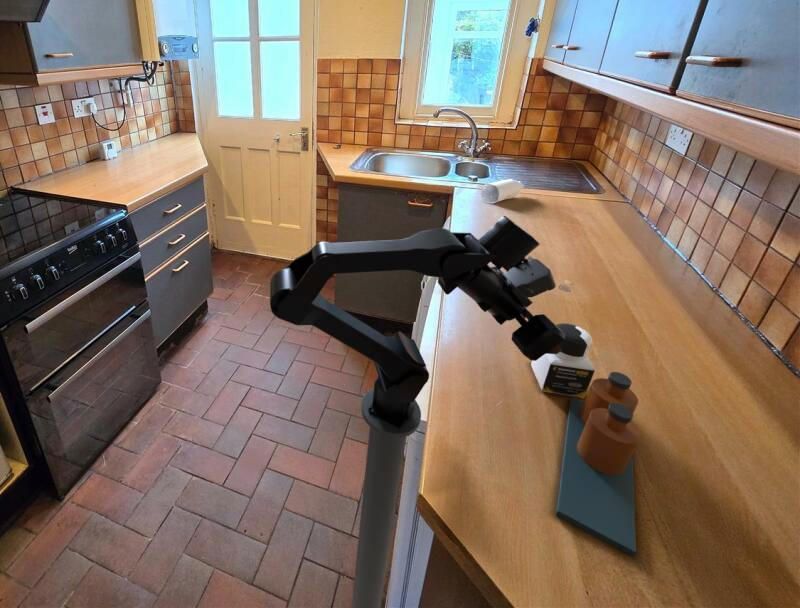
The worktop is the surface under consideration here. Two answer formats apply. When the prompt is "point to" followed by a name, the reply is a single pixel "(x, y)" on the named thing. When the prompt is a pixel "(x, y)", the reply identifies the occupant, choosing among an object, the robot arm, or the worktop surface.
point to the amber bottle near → (609, 439)
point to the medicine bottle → (567, 364)
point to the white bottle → (501, 190)
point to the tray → (595, 492)
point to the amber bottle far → (609, 394)
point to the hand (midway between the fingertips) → (541, 333)
